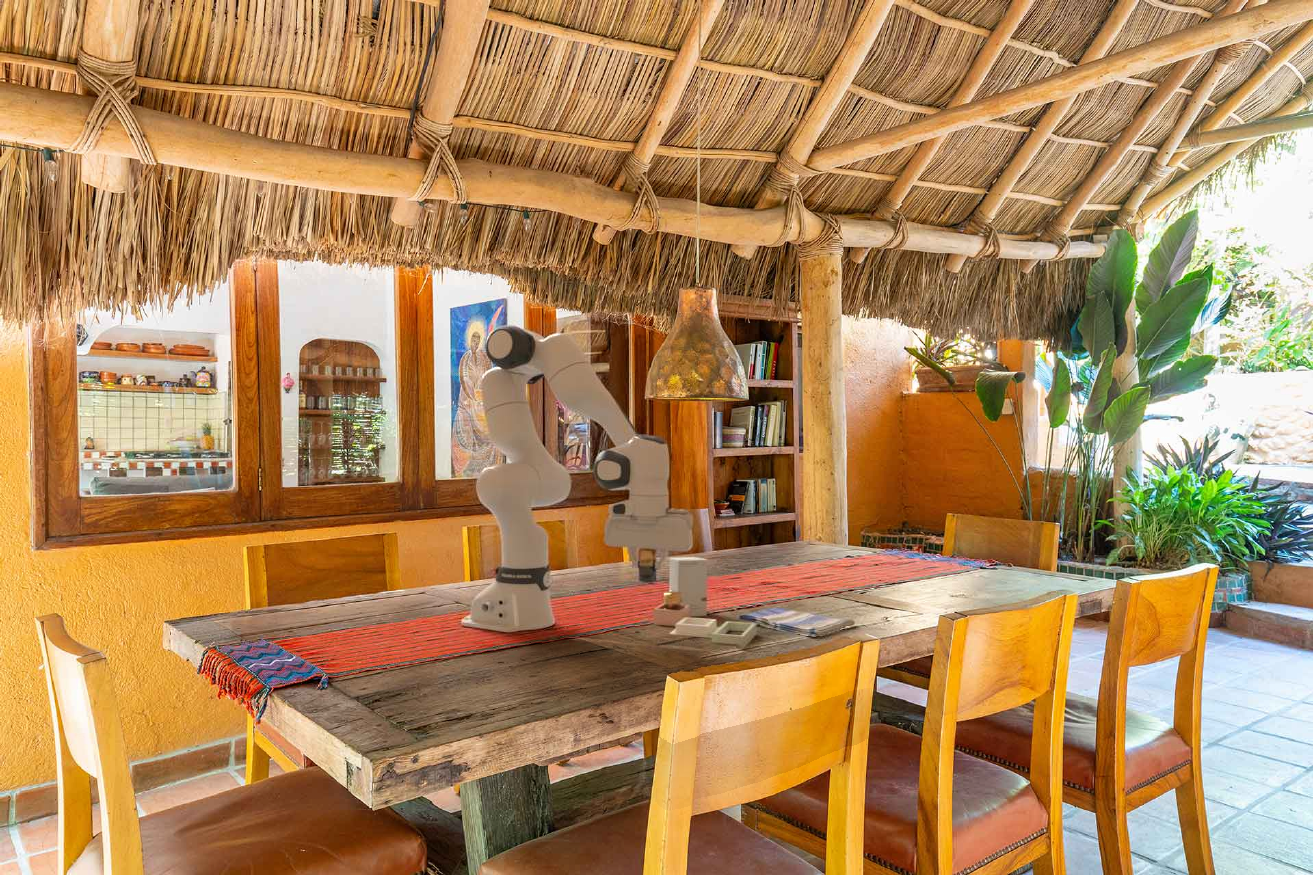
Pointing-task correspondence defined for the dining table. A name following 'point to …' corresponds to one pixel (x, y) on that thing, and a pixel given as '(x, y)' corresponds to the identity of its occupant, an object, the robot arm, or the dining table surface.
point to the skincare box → (690, 582)
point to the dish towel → (796, 621)
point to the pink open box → (670, 615)
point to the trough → (739, 640)
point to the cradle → (695, 627)
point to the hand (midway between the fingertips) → (647, 568)
